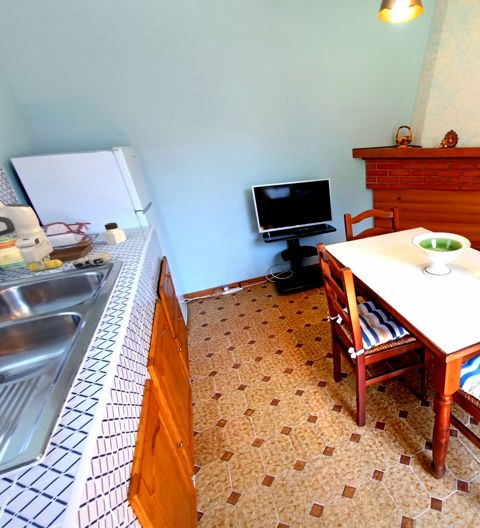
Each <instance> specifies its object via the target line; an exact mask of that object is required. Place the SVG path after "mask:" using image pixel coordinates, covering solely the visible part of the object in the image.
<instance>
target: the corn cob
mask: <svg viewBox="0 0 480 528" xmlns="http://www.w3.org/2000/svg"><path fill="white" fill-rule="evenodd" d="M43 264H45V266H46V267H45V268H43V269H40V268H39V266H38V265H37V264H36V263H30V264H28V267H27V268H28V270H29V271H31V272H40V271H45V270H52V269H58V268H60V267H62V265H63V262H61V261H60V260H49V261H43Z"/></svg>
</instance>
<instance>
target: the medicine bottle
mask: <svg viewBox="0 0 480 528" xmlns="http://www.w3.org/2000/svg"><path fill="white" fill-rule="evenodd" d="M103 226H104V229H105V232H103V233H102V234H103V237H104V239H105V242H106V244H107V245H118V244H121V243H123V242H126V241H127V236H126V234H125V231H124V229H119V225H118V223H117V222H108V223H105V224H104V225H103ZM125 240H126V241H125ZM122 241H123V242H122ZM120 242H121V243H120Z"/></svg>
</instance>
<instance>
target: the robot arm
mask: <svg viewBox="0 0 480 528" xmlns="http://www.w3.org/2000/svg"><path fill="white" fill-rule="evenodd" d="M9 234H15V236H16V237H17V238H16V240H15V243H14V246H15V247H16V249H18V251H19V253H20V255H21V257H22V259H23V260H24V262H25V263H26V264H28V265H30V264H32V263H36V264H37V265H38V266H39V268H40V269H43V268H45V267H46V266H45V264H43V262H42V259H43V258H44V261H49V260H50V258H49V254H50V253H51V252H52V251H53V250H54V248H53V245H52V243H51V242H50V240H49V239H48V237H47V236H46V234H45V232H44V230H43V228H42V227H41V226H40V221H39V218H38V217H37V214H36V213H35V211H34V210H33V208H32V207H31V206H30V205H28V204H25V203H8V204H7V203H6V204H5V203H4V201H3V200H1V199H0V237H3V236H6V235H9Z"/></svg>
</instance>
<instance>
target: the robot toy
mask: <svg viewBox="0 0 480 528" xmlns="http://www.w3.org/2000/svg"><path fill="white" fill-rule="evenodd" d="M111 259H112V255H111V250H108V251H102V252H98V253H95V254H92V255H91V256H90V257H89V256H85V257H84V258H80V259H78V260H74V262H72V266H70V269H79V268H81V269H82V268H83V269H84V268H86V267H88V266H91V265H93V266H96V265H98V266H103V265H105V264H106V263H108V262H109V261H110V260H111Z"/></svg>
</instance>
